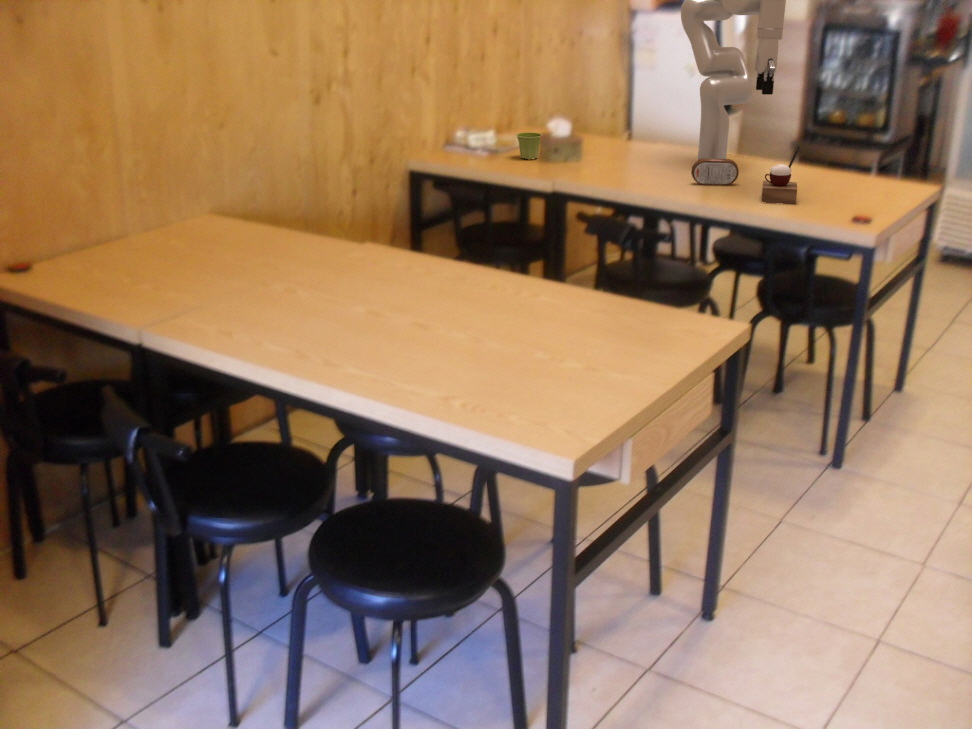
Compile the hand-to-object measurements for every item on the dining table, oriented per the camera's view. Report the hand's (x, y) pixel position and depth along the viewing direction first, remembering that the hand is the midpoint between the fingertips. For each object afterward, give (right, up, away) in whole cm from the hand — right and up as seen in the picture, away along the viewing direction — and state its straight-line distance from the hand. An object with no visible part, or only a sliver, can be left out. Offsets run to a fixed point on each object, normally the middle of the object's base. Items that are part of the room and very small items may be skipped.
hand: (764, 92), depth 319 cm
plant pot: (-70, -9, +58) cm, 92 cm away
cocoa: (+4, -30, -3) cm, 30 cm away
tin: (-12, -26, +18) cm, 33 cm away
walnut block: (+4, -34, -1) cm, 34 cm away
